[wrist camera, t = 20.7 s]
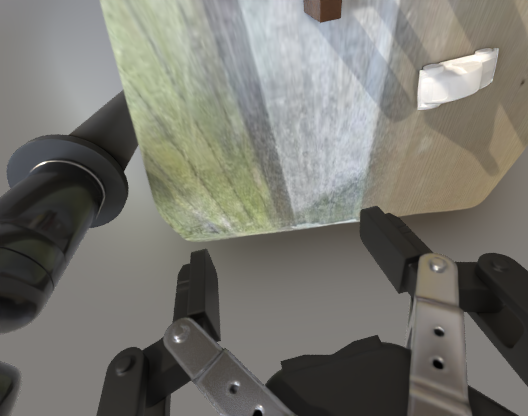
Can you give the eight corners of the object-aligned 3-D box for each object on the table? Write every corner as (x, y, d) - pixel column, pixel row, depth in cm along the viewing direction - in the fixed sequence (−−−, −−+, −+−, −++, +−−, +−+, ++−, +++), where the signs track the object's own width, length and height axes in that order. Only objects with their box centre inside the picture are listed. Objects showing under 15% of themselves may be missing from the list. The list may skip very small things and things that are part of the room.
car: (411, 110, 44) (431, 118, 40) (413, 68, 40) (434, 73, 36) (483, 84, 44) (510, 90, 40) (491, 41, 40) (521, 43, 36)
